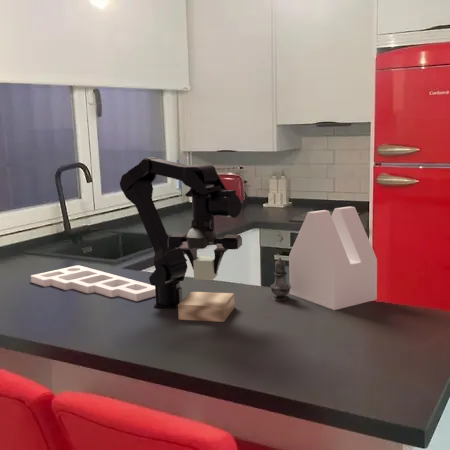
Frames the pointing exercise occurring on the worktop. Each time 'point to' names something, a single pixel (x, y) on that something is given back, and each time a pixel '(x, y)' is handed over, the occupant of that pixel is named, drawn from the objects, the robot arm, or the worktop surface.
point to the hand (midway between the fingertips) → (205, 273)
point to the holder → (95, 283)
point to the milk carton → (333, 260)
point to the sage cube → (204, 268)
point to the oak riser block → (206, 306)
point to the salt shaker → (280, 283)
